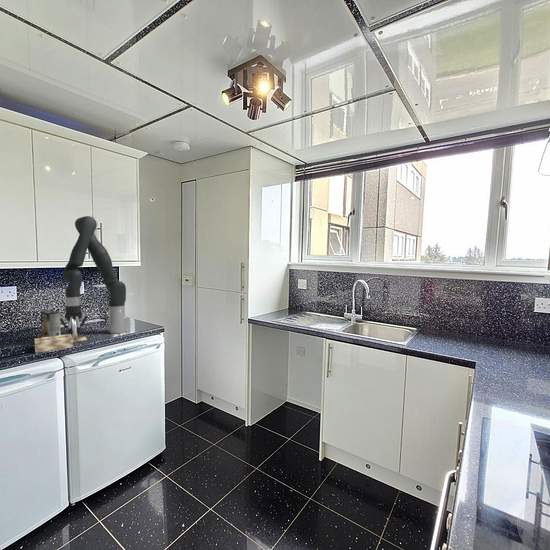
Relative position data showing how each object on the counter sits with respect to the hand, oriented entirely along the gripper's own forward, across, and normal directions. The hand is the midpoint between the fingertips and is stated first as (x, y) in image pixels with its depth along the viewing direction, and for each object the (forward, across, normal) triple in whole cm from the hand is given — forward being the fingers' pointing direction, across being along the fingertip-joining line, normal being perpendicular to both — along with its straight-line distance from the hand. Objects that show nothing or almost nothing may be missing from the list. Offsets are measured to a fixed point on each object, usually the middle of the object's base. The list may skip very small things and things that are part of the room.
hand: (74, 333), depth 174 cm
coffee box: (+4, +10, -12) cm, 16 cm away
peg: (+3, 0, 0) cm, 3 cm away
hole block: (+4, +10, +9) cm, 14 cm away
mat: (+4, -2, 0) cm, 4 cm away
